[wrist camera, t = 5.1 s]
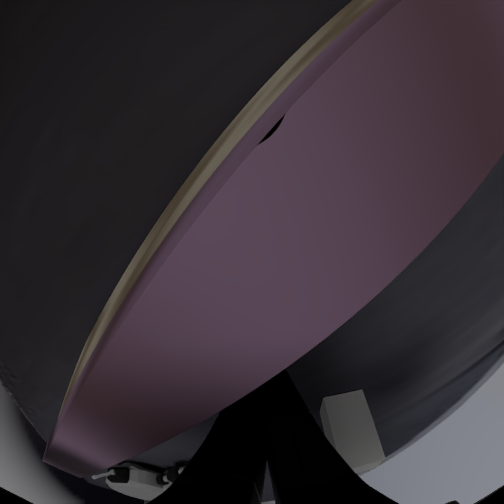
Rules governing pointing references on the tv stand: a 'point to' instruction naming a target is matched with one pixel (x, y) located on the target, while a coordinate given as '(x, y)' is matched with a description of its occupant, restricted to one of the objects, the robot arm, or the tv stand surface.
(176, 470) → the robot toy
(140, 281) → the beige flat panel
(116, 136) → the tv stand surface
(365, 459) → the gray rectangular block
